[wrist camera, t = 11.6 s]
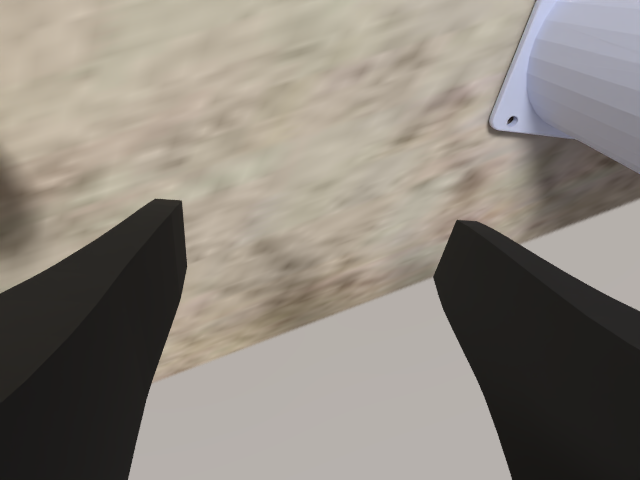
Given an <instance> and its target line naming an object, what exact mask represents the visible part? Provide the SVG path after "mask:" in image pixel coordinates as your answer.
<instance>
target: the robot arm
mask: <svg viewBox="0 0 640 480" xmlns="http://www.w3.org/2000/svg"><path fill="white" fill-rule="evenodd" d="M512 116H514V118H513V120H512V122H511V123H509V124H507V121H508V119H509V118H510V117H512ZM489 123H490V125H491V127H492V128H494V129H496V130H499V131H508V132H517V133H525V134H534V135H543V136H551V137H560V138H569V139H576V140H578V141H580V142H582V143H584V144H586V145H587V146H589V147H591V148H593V149H595V150H596V151H598V152H600V153H602V154H604V155H606V156H607V157H609V158H611V159H613V160H615V161H617V162H618V163H620V164H622V165H624V166H626V167H628V168H629V169H631V170H633V171H635V172H637V173H639V174H640V0H536V3H535V5H534V8H533V10H532V13H531V15H530V18H529V20H528V23H527V25H526V28H525V30H524V33H523V35H522V38H521V40H520V43H519V45H518V48H517V51H516V53H515V56H514V58H513V61H512V63H511V66H510V68H509V71H508V73H507V76H506V78H505V81H504V83H503V86H502V88H501V91H500V93H499V96H498V98H497V101H496V103H495V106H494V108H493V111H492V113H491V116H490V119H489ZM186 269H187V259H186V247H185V234H184V222H183V209H182V201H180V200H166V199H154V200H153V201H151V202H149V203H148V204H146V205H145V206H144V207H142V208H141V209H139V210H138V211H136V212H135V213H134V214H132V215H131V216H129V217H128V218H127V219H125V220H124V221H122V222H121V223H119V224H118V225H117V226H115V227H114V228H112V229H111V230H109V231H108V232H106V233H105V234H103V235H102V236H101V237H99V238H98V239H96V240H95V241H93V242H91V243H90V244H88V245H86V246H85V247H83V248H82V249H80V250H78V251H77V252H75V253H73V254H72V255H70V256H69V257H67V258H65V259H64V260H62V261H60V262H59V263H57V264H56V265H54V266H52V267H50V268H49V269H47V270H45V271H43V272H41V273H39V274H38V275H36V276H34V277H32V278H30V279H28V280H26V281H24V282H22V283H20V284H18V285H16V286H14V287H12V288H10V289H9V290H7V291H5V292H3V293H1V294H0V480H128V476H129V472H130V467H131V463H132V459H133V454H134V450H135V445H136V440H137V436H138V433H139V428H140V424H141V420H142V416H143V411H144V407H145V403H146V399H147V396H148V393H149V389H150V386H151V383H152V380H153V377H154V374H155V371H156V368H157V365H158V363H159V360H160V357H161V354H162V351H163V348H164V346H165V343H166V340H167V337H168V334H169V331H170V329H171V326H172V323H173V320H174V317H175V314H176V311H177V308H178V305H179V302H180V299H181V294H182V289H183V285H184V280H185V274H186ZM433 278H434V281H435V285H436V288H437V291H438V295H439V298H440V301H441V304H442V307H443V310H444V312H445V314H446V316H447V318H448V320H449V322H450V325H451V327H452V329H453V331H454V333H455V335H456V337H457V339H458V341H459V344H460V346H461V348H462V350H463V352H464V354H465V356H466V358H467V360H468V362H469V364H470V366H471V368H472V370H473V372H474V374H475V376H476V378H477V381H478V383H479V385H480V388H481V390H482V392H483V395H484V397H485V400H486V403H487V405H488V408H489V411H490V414H491V417H492V419H493V422H494V425H495V428H496V430H497V433H498V436H499V440H500V443H501V446H502V449H503V452H504V455H505V458H506V461H507V464H508V467H509V470H510V473H511V477H512V480H640V311H638V310H636V309H634V308H632V307H630V306H628V305H626V304H624V303H621V302H619V301H617V300H615V299H613V298H611V297H609V296H607V295H606V294H604V293H602V292H600V291H598V290H596V289H594V288H593V287H591V286H589V285H587V284H585V283H584V282H582V281H580V280H578V279H576V278H575V277H573V276H571V275H569V274H568V273H566V272H564V271H562V270H561V269H559V268H557V267H556V266H554V265H552V264H551V263H549V262H547V261H546V260H544V259H542V258H540V257H539V256H537V255H536V254H534V253H532V252H531V251H529V250H527V249H526V248H524V247H523V246H521V245H519V244H518V243H516V242H514V241H513V240H511V239H509V238H508V237H506V236H504V235H503V234H501V233H499V232H497V231H496V230H494V229H492V228H490V227H488V226H486V225H484V224H482V223H480V222H477V221H464V220H457V221H456V223H455V225H454V228H453V230H452V233H451V235H450V238H449V240H448V242H447V245H446V247H445V250H444V252H443V255H442V257H441V259H440V262H439V264H438V267H437V269H436V272H435V274H434V276H433Z"/></svg>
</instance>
